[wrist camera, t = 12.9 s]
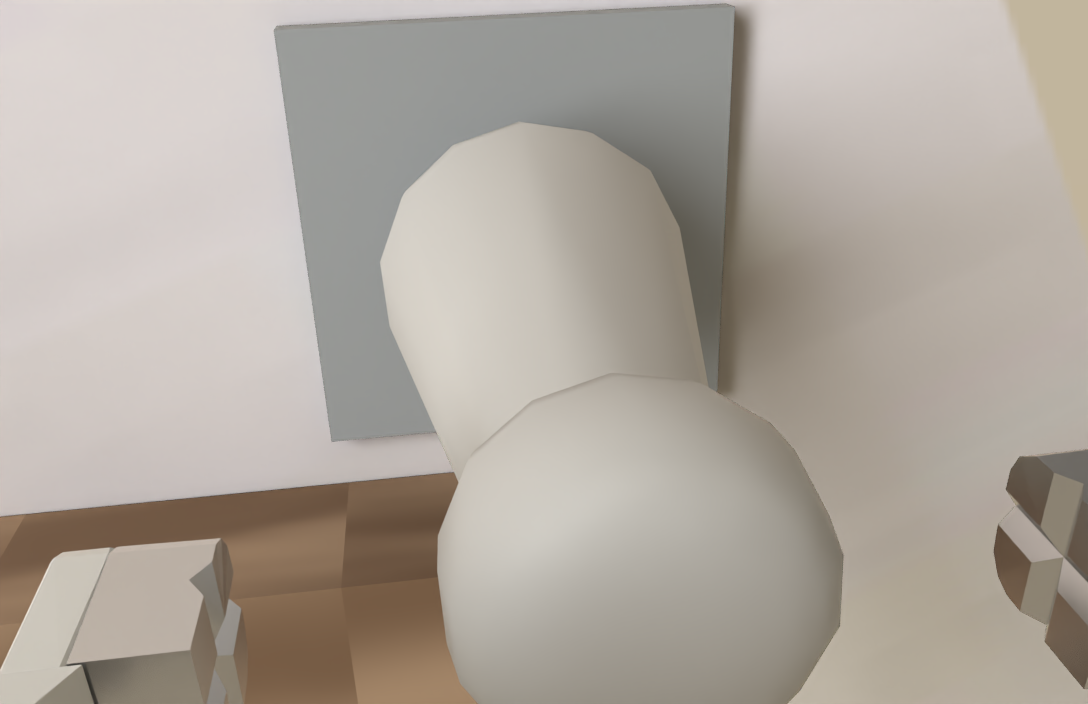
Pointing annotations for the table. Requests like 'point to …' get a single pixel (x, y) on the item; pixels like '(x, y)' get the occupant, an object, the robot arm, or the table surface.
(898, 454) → the table surface
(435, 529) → the socket block
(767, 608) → the salt shaker
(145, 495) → the table surface
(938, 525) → the table surface
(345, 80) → the coaster
